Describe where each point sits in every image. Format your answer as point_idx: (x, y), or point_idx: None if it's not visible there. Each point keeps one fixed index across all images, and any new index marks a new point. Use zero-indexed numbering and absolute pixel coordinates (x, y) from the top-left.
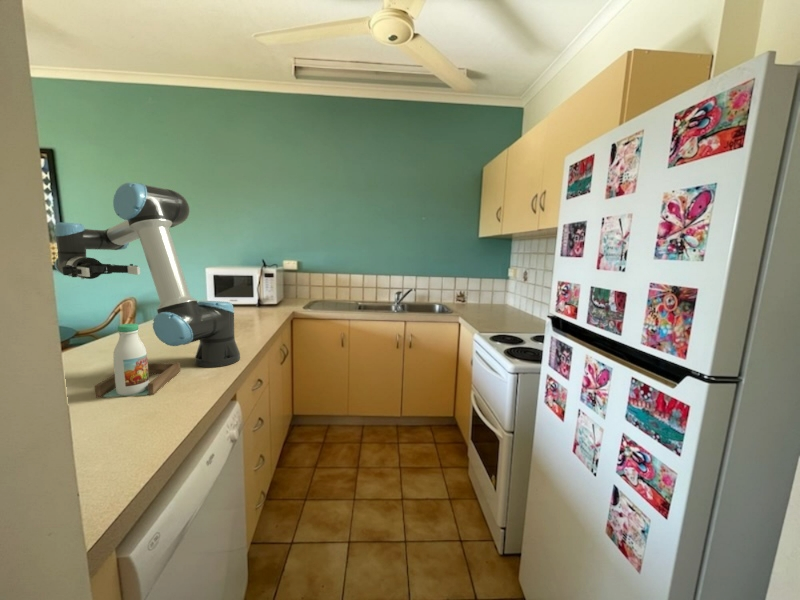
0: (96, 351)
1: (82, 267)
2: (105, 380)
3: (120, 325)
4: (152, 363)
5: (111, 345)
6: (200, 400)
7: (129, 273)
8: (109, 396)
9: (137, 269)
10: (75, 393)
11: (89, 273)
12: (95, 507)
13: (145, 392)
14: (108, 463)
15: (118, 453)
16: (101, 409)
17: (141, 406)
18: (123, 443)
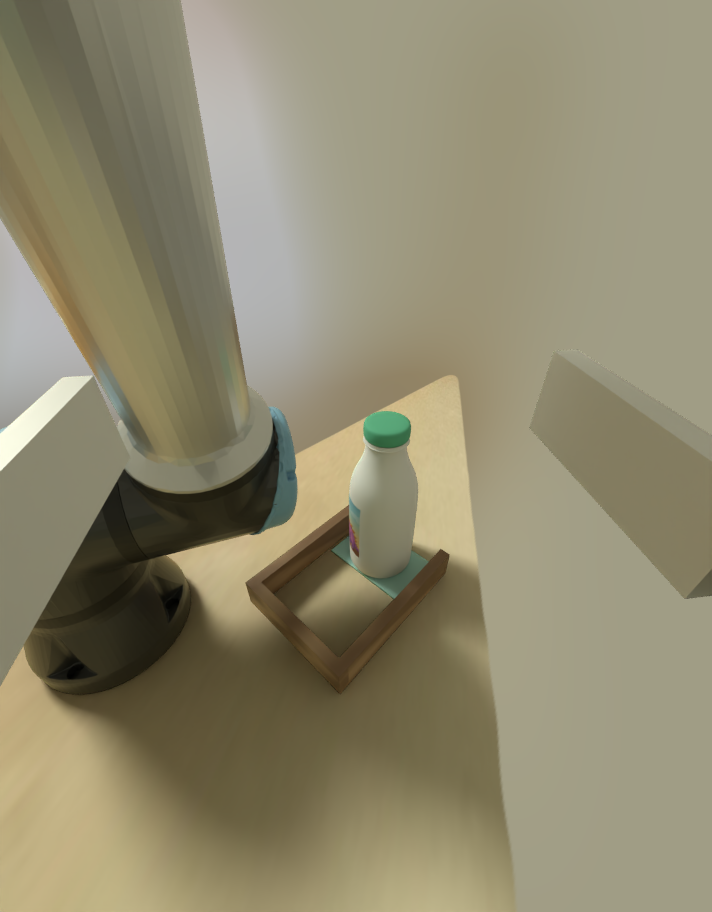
0: None
1: (640, 392)
2: (427, 572)
3: (404, 425)
4: (295, 629)
5: None
6: (318, 458)
7: (27, 630)
8: (422, 558)
9: (105, 403)
10: (484, 632)
11: (538, 401)
12: (455, 384)
13: None
14: (443, 412)
15: (434, 419)
16: (440, 515)
17: None
18: (428, 428)
